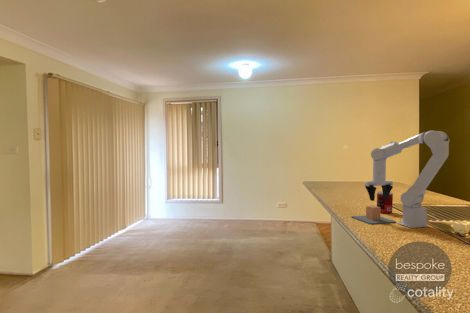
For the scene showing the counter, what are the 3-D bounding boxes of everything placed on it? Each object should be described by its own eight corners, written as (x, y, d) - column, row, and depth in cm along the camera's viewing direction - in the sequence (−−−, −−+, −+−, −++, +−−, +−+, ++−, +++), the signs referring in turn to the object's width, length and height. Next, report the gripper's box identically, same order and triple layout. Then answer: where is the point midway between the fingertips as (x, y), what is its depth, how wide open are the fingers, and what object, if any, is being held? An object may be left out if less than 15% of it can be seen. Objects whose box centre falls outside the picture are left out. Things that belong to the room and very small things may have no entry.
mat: (375, 215, 154) (375, 214, 154) (395, 222, 141) (395, 221, 141) (351, 217, 151) (351, 216, 151) (370, 224, 137) (370, 223, 137)
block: (373, 217, 149) (374, 205, 148) (380, 219, 144) (380, 207, 144) (366, 218, 147) (366, 205, 147) (372, 220, 143) (372, 207, 143)
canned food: (393, 211, 164) (393, 192, 164) (391, 214, 158) (392, 194, 157) (377, 210, 168) (378, 190, 168) (375, 212, 162) (376, 192, 161)
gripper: (385, 171, 153) (385, 198, 153) (361, 172, 149) (360, 199, 150) (396, 173, 146) (395, 200, 146) (370, 173, 142) (370, 201, 143)
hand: (378, 200), depth 148 cm, fingers open, 7 cm apart
